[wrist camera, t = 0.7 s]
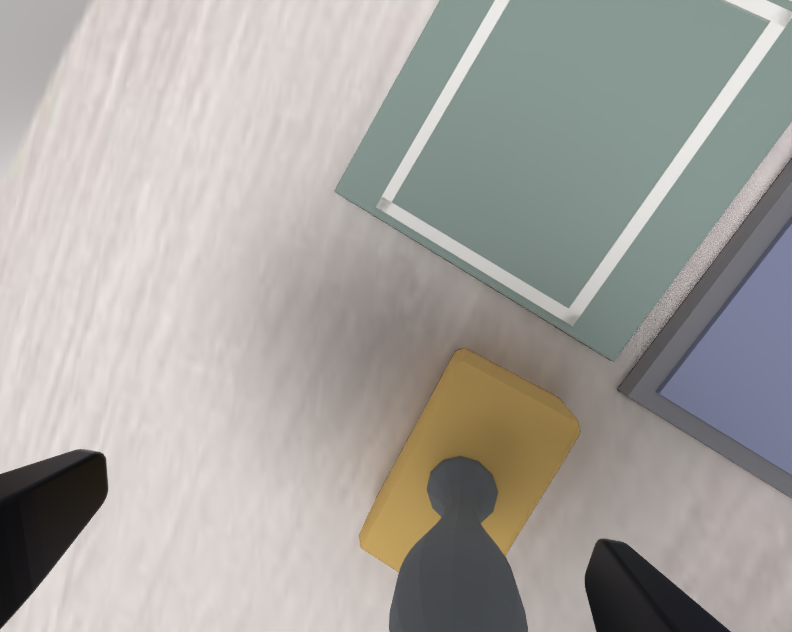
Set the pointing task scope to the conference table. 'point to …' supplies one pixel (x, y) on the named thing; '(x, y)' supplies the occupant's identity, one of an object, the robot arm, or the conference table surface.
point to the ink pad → (733, 348)
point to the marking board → (577, 145)
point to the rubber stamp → (467, 498)
